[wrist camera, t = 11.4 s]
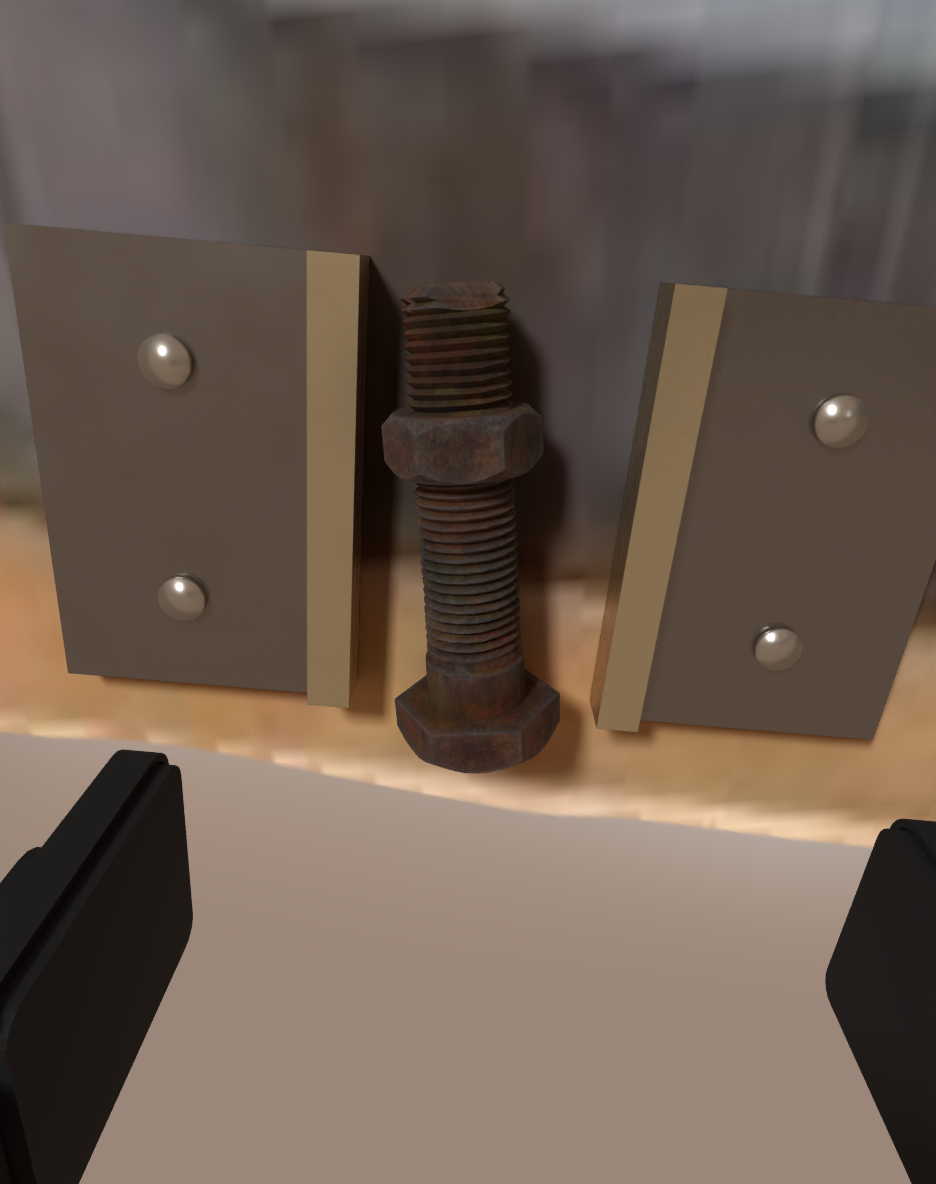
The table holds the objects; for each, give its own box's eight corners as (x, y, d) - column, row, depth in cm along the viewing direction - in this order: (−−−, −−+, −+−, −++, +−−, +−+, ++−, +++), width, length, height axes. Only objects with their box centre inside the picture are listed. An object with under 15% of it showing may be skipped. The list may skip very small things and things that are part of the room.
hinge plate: (996, 312, 24) (1039, 316, 22) (858, 721, 29) (883, 752, 28) (26, 224, 23) (-13, 221, 21) (84, 657, 29) (56, 683, 27)
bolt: (480, 283, 25) (497, 682, 31) (336, 291, 23) (382, 718, 29) (585, 274, 21) (584, 749, 26) (417, 282, 18) (453, 798, 24)
